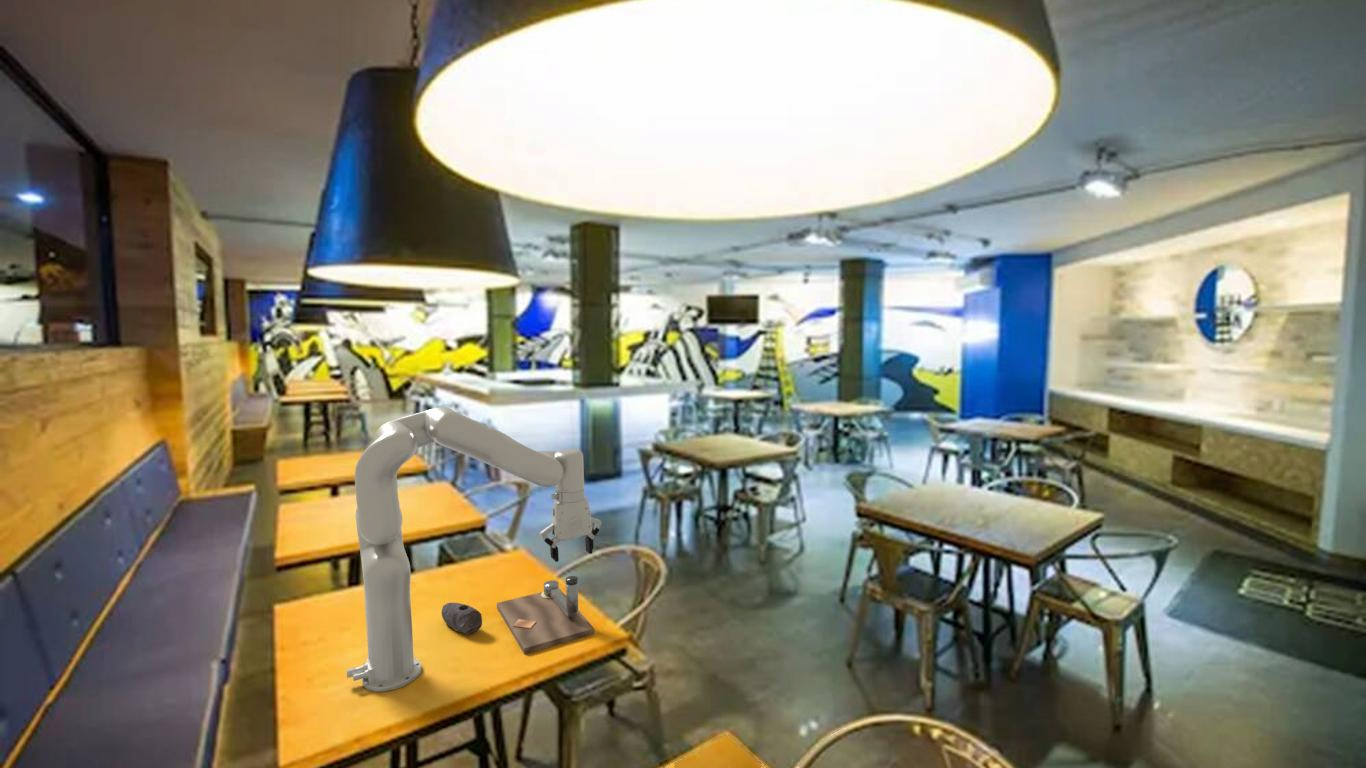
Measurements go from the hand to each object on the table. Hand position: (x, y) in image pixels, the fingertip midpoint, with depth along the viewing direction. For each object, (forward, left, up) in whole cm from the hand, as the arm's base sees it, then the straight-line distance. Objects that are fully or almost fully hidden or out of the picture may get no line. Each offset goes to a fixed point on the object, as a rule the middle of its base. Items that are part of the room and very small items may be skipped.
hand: (572, 556), depth 162 cm
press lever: (0, +9, -18) cm, 20 cm away
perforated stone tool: (-27, +15, -20) cm, 37 cm away
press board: (-6, +7, -20) cm, 22 cm away
